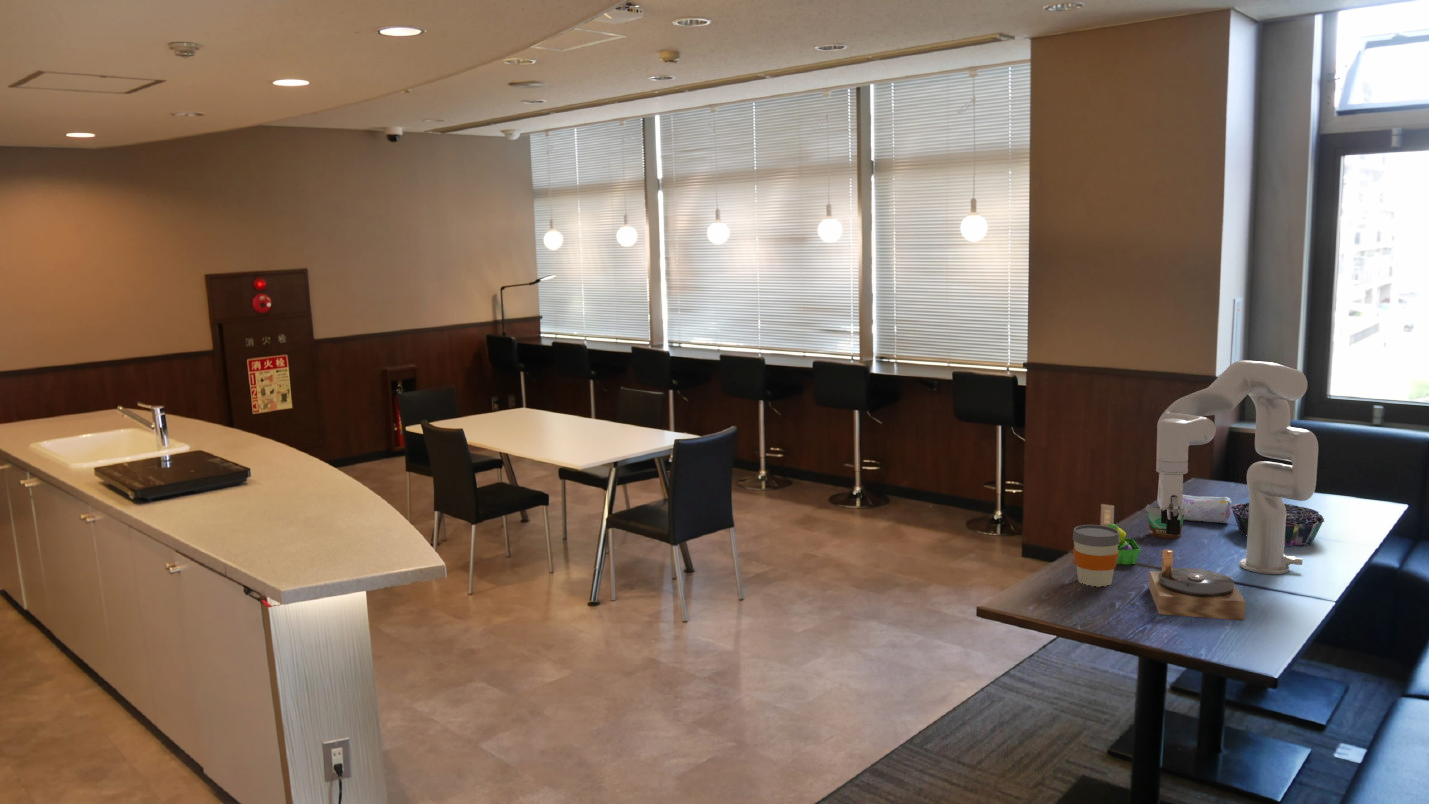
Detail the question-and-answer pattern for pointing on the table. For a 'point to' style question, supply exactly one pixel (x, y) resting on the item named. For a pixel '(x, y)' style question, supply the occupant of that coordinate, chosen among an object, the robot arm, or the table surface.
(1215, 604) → the block
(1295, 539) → the decorative bowl
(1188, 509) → the pencil case
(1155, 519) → the food container
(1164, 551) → the handwheel
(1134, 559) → the fruit basket
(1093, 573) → the reusable coffee cup
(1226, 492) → the table surface
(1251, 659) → the table surface
